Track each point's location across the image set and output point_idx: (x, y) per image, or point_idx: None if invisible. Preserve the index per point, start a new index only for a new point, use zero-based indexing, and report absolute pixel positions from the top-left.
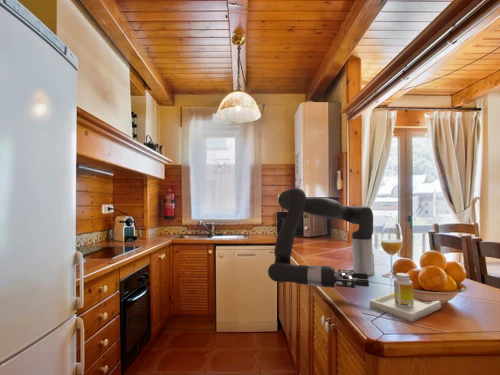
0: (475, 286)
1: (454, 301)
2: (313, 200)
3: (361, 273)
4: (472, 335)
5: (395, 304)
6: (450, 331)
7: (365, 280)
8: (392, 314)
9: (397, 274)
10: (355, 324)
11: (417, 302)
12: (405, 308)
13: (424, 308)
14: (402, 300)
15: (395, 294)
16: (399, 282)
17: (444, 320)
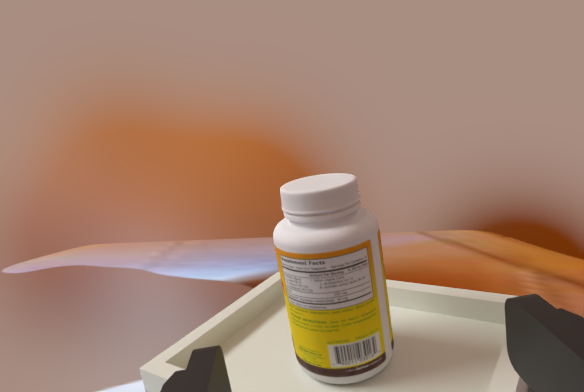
0: (53, 262)
1: (203, 277)
2: None
3: (209, 389)
4: (496, 246)
5: (359, 387)
6: (516, 268)
7: (551, 310)
8: None
9: (334, 186)
10: None
11: (277, 325)
12: (400, 349)
13: (409, 283)
14: (390, 319)
15: (362, 321)
16: (372, 223)
17: (419, 280)
